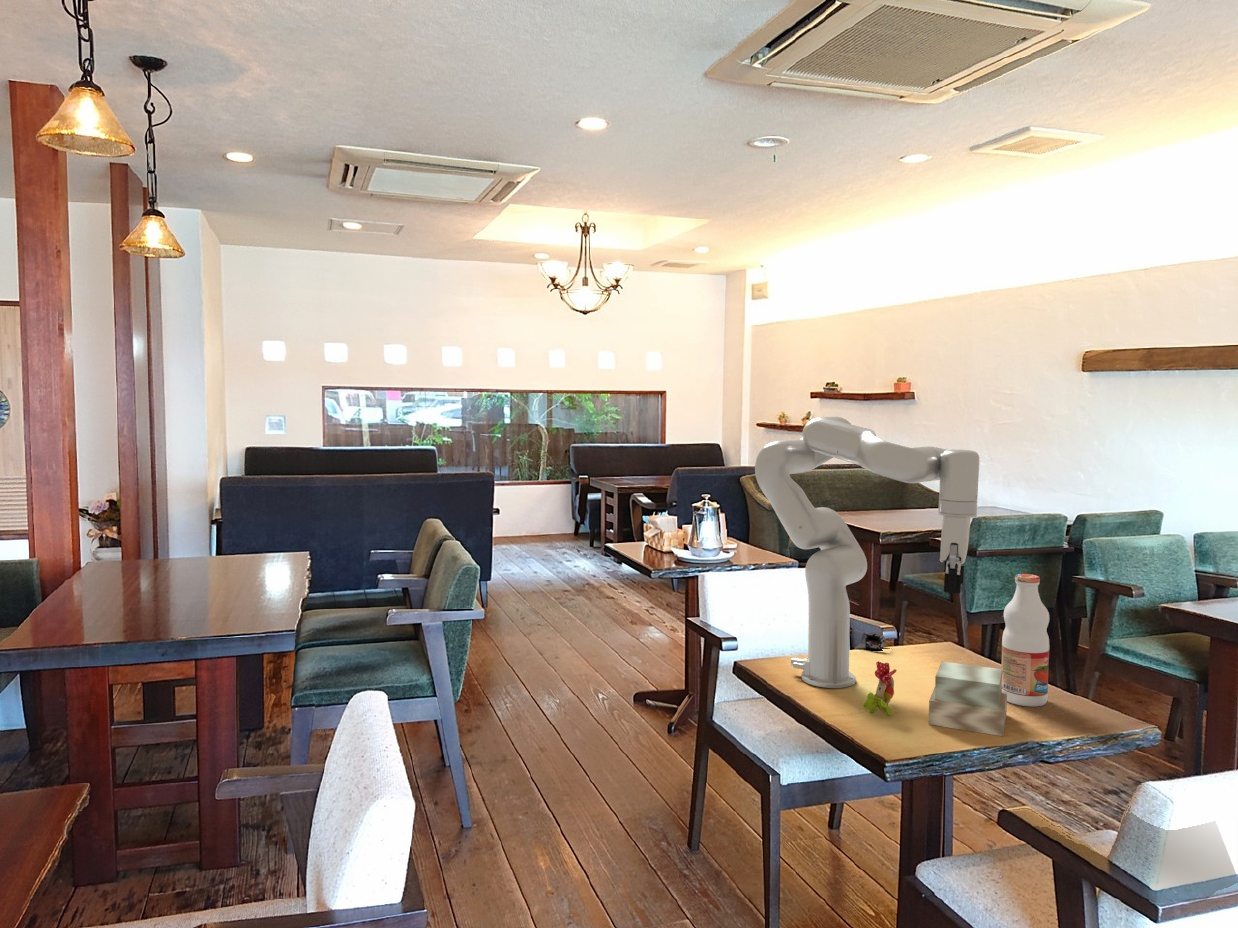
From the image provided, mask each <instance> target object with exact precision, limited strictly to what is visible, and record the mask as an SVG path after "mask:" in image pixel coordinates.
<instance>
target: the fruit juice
mask: <svg viewBox="0 0 1238 928" xmlns="http://www.w3.org/2000/svg"><path fill="white" fill-rule="evenodd" d="M1014 582H1015V584H1016V587H1015V591H1014V594H1013V597H1012V599H1011V600H1010V601H1009V602H1008V603H1007V604H1006V605H1005V607H1004V610H1003V620H1004V623H1005V627H1004V629H1003V632H1002V640H1001V668H1000V669H1002V691H1006V692H1007V703H1010V704H1013V705H1017V706H1022V707H1036V708H1037V707H1042V706H1045V705H1047V702H1048V695H1049V689H1048V688H1049V687H1048V686H1049V666H1050V665H1049V664H1050V663H1049V659H1050V639H1049V635H1048V632H1047V628H1048V627H1049V622H1050V612H1049V611H1048V608H1047V607H1046V606H1045V604H1044V603H1043V602H1042V600H1041V597H1040V593H1039V585H1040V583H1041V578H1040V576H1038V575H1036V574H1030V573H1029V574H1028V573H1017V574H1015V576H1014Z"/></svg>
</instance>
